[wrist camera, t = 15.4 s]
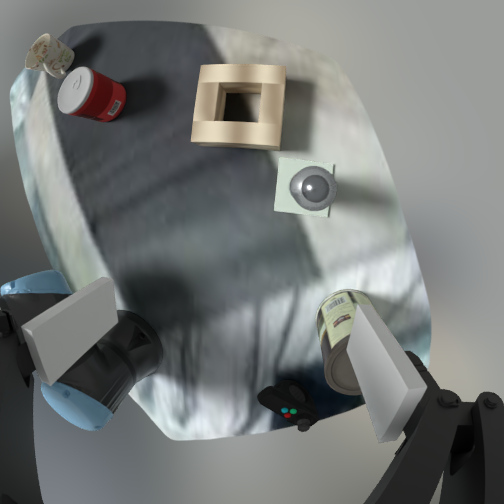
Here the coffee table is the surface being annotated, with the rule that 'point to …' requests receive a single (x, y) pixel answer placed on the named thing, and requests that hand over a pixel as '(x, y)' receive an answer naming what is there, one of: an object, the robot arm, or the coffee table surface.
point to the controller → (290, 403)
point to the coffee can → (339, 338)
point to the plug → (313, 188)
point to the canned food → (91, 95)
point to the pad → (285, 172)
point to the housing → (239, 81)
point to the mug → (49, 56)
